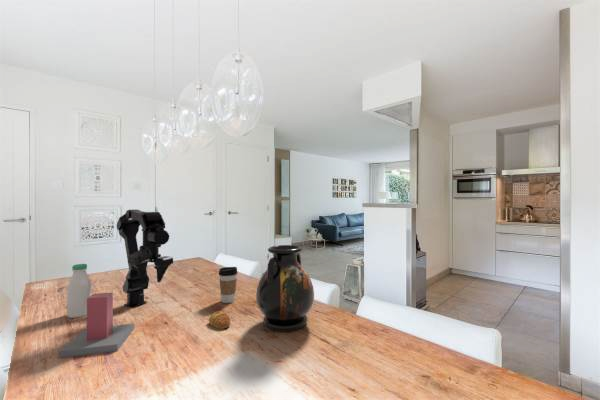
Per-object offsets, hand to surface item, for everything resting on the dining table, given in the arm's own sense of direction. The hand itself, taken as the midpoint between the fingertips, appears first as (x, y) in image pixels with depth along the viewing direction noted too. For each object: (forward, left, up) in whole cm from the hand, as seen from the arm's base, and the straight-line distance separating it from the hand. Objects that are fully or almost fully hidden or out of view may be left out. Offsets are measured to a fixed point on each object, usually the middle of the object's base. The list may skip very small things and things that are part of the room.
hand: (150, 281), depth 112 cm
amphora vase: (+55, +11, -13) cm, 58 cm away
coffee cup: (+21, +23, -13) cm, 34 cm away
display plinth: (+5, -23, -13) cm, 27 cm away
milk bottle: (-26, -11, -13) cm, 31 cm away
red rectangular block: (+5, -23, -11) cm, 26 cm away
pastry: (+33, +2, -14) cm, 36 cm away
